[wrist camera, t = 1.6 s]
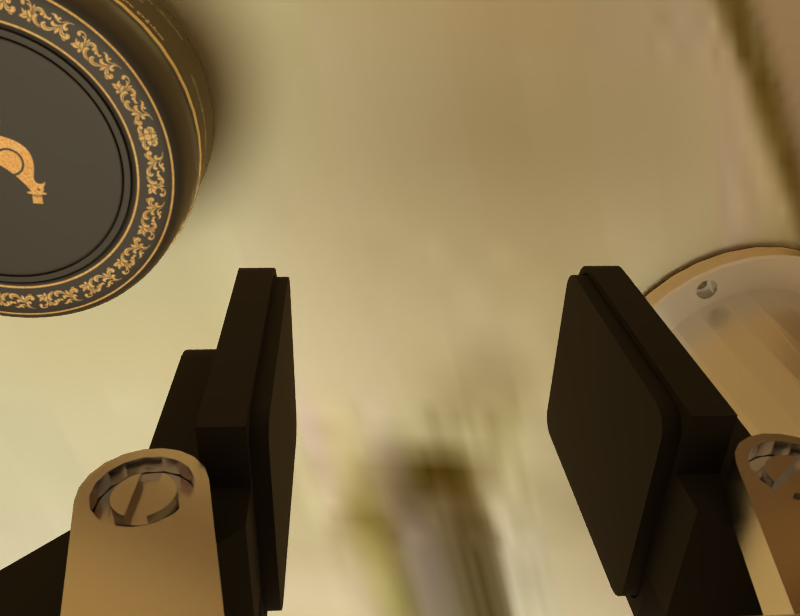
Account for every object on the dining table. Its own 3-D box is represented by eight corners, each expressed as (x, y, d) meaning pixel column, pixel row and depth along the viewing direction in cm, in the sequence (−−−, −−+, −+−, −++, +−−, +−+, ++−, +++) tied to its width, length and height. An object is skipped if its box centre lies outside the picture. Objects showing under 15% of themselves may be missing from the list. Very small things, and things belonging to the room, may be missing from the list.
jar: (-66, -106, 23) (-234, -112, 16) (252, -1, 25) (220, 32, 18) (-73, 188, 27) (-209, 279, 20) (197, 256, 29) (155, 359, 23)
